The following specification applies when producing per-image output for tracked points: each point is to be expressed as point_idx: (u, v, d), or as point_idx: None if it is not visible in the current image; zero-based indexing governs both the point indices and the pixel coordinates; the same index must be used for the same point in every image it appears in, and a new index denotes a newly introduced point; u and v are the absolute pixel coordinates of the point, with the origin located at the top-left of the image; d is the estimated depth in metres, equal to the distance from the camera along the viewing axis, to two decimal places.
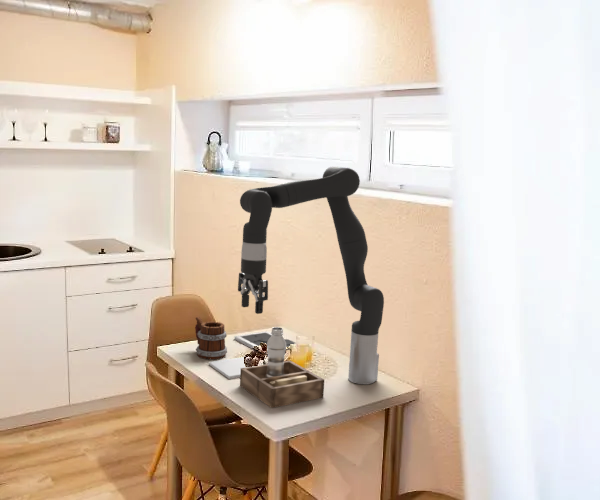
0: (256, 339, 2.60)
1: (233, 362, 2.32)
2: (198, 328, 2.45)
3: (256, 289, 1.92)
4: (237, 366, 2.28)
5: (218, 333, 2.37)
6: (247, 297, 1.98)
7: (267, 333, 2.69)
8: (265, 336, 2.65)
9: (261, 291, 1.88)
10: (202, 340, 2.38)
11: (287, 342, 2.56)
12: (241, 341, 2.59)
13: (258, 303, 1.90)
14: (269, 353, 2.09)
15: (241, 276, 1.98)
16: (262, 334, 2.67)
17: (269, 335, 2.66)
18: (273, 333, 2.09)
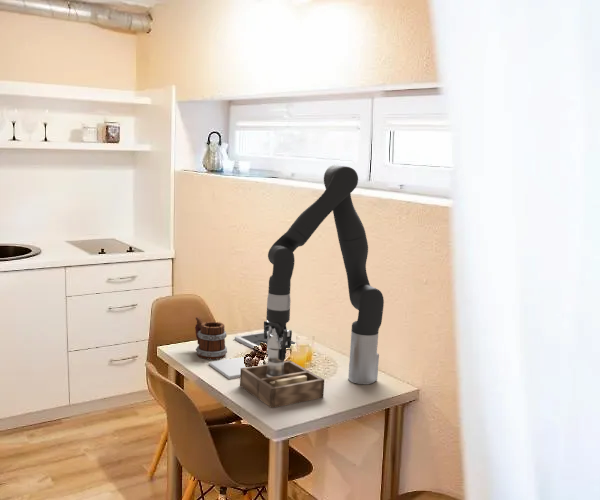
0: (256, 339, 2.60)
1: (233, 362, 2.32)
2: (198, 328, 2.45)
3: (280, 336, 2.08)
4: (237, 366, 2.28)
5: (218, 333, 2.37)
6: None
7: (267, 333, 2.69)
8: None
9: (285, 340, 2.04)
10: (202, 340, 2.38)
11: None
12: (241, 341, 2.59)
13: (281, 350, 2.07)
14: (269, 353, 2.09)
15: (266, 324, 2.14)
16: (262, 334, 2.67)
17: None
18: (273, 333, 2.09)
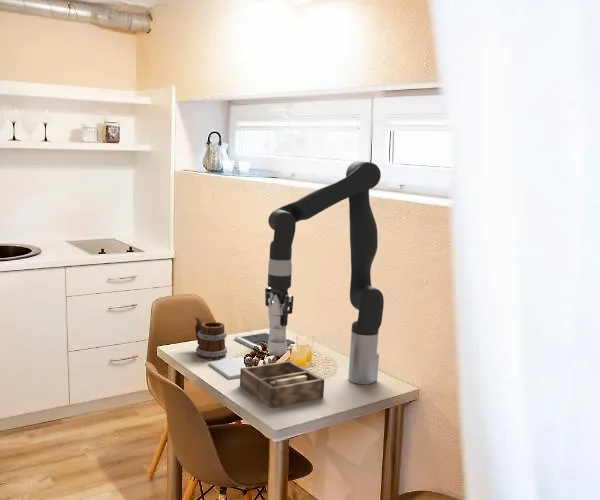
0: (257, 339, 2.60)
1: (233, 362, 2.32)
2: (198, 328, 2.45)
3: (282, 303, 2.06)
4: (237, 366, 2.28)
5: (218, 333, 2.37)
6: None
7: (267, 333, 2.69)
8: (265, 336, 2.64)
9: (287, 306, 2.02)
10: (202, 340, 2.38)
11: (288, 342, 2.56)
12: (242, 341, 2.59)
13: (283, 316, 2.05)
14: (271, 320, 2.07)
15: (267, 291, 2.12)
16: (262, 334, 2.67)
17: None
18: (275, 299, 2.07)
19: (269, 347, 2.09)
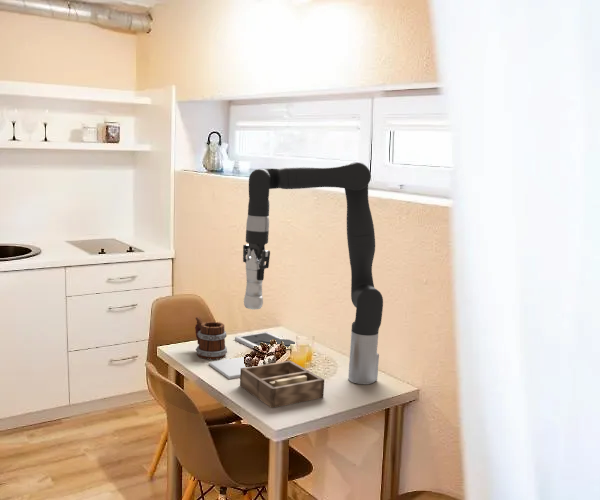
0: (257, 339, 2.60)
1: (233, 362, 2.32)
2: (198, 328, 2.45)
3: (259, 258, 2.15)
4: (237, 366, 2.28)
5: (218, 333, 2.37)
6: None
7: (267, 333, 2.69)
8: (265, 336, 2.64)
9: (263, 260, 2.11)
10: (202, 340, 2.38)
11: (288, 342, 2.56)
12: (242, 342, 2.58)
13: (260, 271, 2.13)
14: (248, 274, 2.16)
15: (245, 248, 2.20)
16: (262, 334, 2.67)
17: (269, 335, 2.66)
18: (252, 255, 2.15)
19: (246, 301, 2.17)
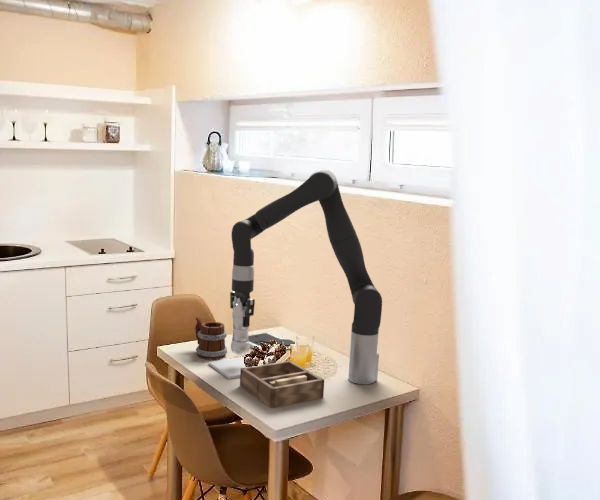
0: (257, 340, 2.59)
1: (233, 362, 2.32)
2: (198, 328, 2.45)
3: (244, 305, 2.24)
4: (237, 366, 2.28)
5: (218, 333, 2.37)
6: None
7: (267, 333, 2.69)
8: (266, 336, 2.64)
9: (248, 308, 2.20)
10: (202, 340, 2.38)
11: (288, 342, 2.56)
12: None
13: (245, 318, 2.22)
14: (234, 321, 2.25)
15: (232, 294, 2.29)
16: (262, 335, 2.67)
17: (269, 335, 2.66)
18: (238, 302, 2.24)
19: (232, 346, 2.26)
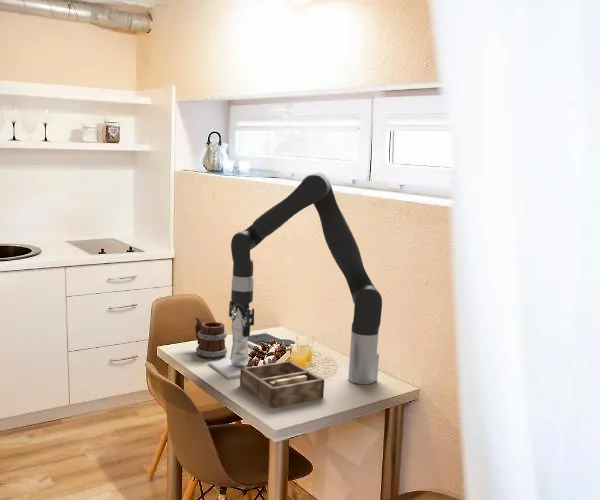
0: (257, 340, 2.59)
1: None
2: (198, 328, 2.45)
3: (244, 316, 2.24)
4: (237, 366, 2.28)
5: (218, 333, 2.37)
6: None
7: (267, 333, 2.69)
8: (266, 336, 2.64)
9: (248, 318, 2.20)
10: (202, 340, 2.38)
11: (289, 342, 2.56)
12: None
13: (246, 328, 2.22)
14: (233, 333, 2.25)
15: (231, 304, 2.30)
16: (262, 335, 2.66)
17: (269, 335, 2.66)
18: (237, 315, 2.25)
19: (232, 358, 2.27)
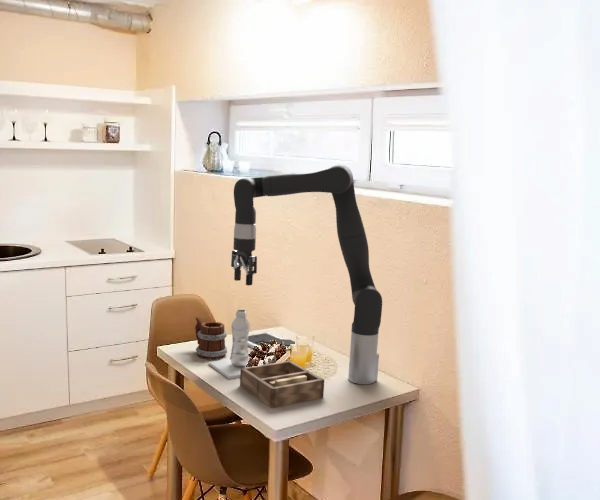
0: (257, 340, 2.59)
1: None
2: (198, 328, 2.45)
3: (247, 264, 2.21)
4: None
5: (218, 333, 2.37)
6: (239, 272, 2.27)
7: (267, 333, 2.69)
8: (266, 337, 2.64)
9: (251, 265, 2.17)
10: (202, 340, 2.38)
11: (289, 342, 2.56)
12: None
13: (248, 276, 2.19)
14: (233, 333, 2.25)
15: (234, 253, 2.27)
16: (262, 335, 2.66)
17: (270, 335, 2.66)
18: (237, 315, 2.25)
19: (232, 358, 2.27)
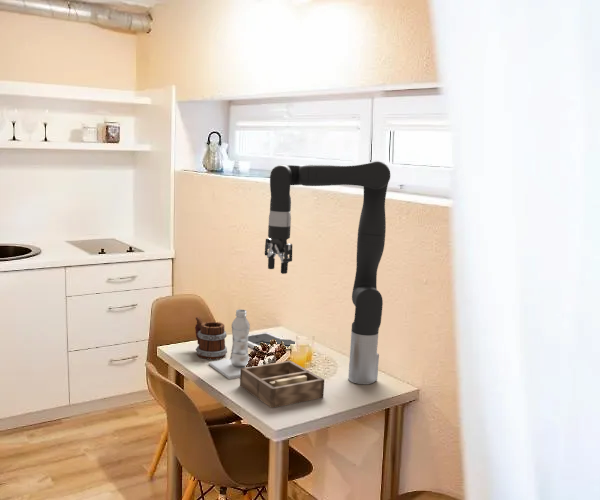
0: (258, 340, 2.59)
1: None
2: (198, 328, 2.45)
3: (281, 252, 2.19)
4: None
5: (218, 333, 2.37)
6: (273, 260, 2.25)
7: (267, 334, 2.69)
8: (266, 337, 2.64)
9: (286, 253, 2.15)
10: (202, 340, 2.38)
11: (289, 342, 2.56)
12: None
13: (283, 264, 2.17)
14: (233, 333, 2.25)
15: (268, 242, 2.25)
16: (262, 335, 2.66)
17: (270, 336, 2.66)
18: (237, 315, 2.25)
19: (232, 358, 2.27)
